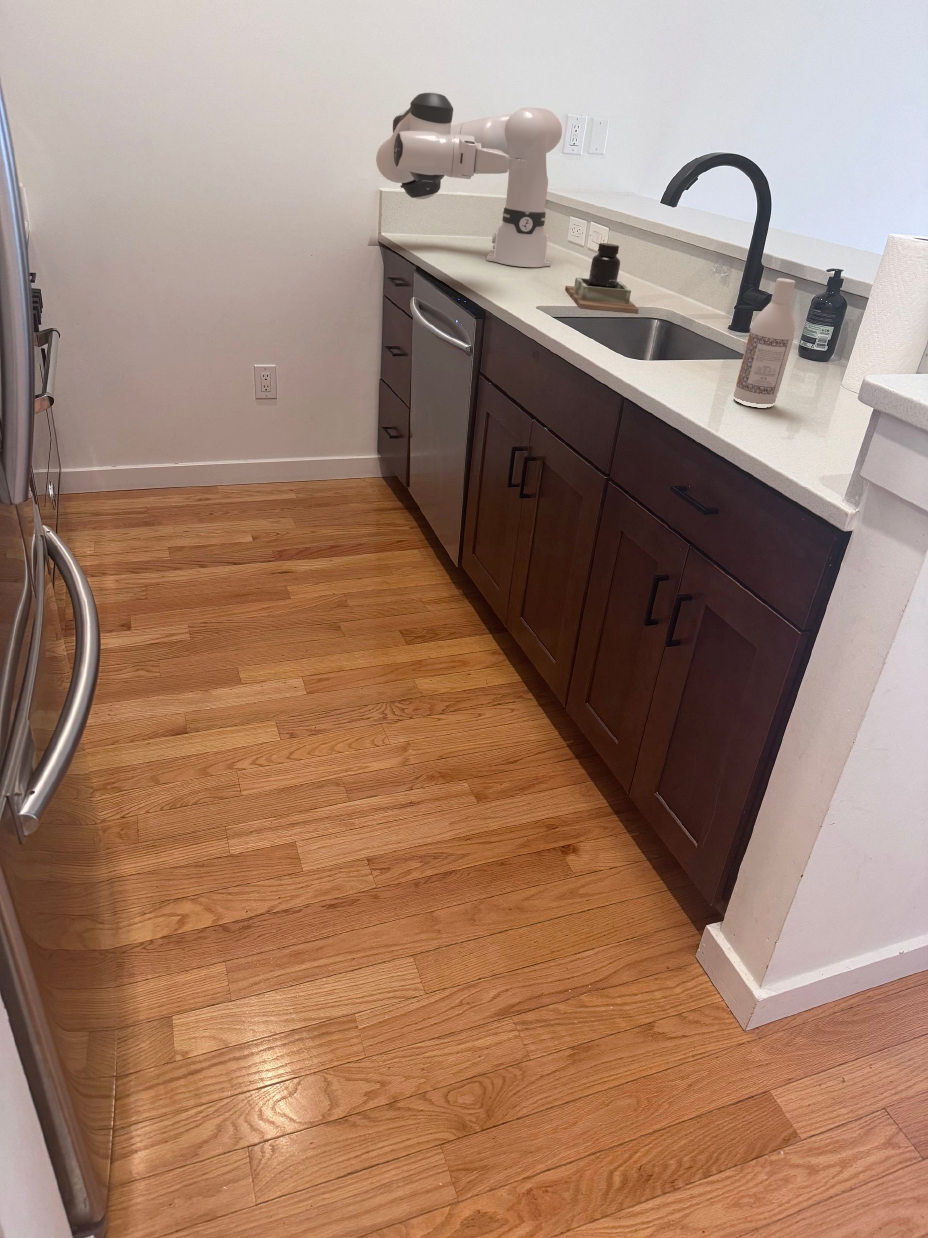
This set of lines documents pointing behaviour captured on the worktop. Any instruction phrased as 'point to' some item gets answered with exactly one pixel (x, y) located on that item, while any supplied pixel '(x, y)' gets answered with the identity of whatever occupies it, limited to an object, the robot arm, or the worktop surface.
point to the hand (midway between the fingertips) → (524, 163)
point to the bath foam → (767, 348)
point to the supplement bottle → (605, 267)
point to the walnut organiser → (601, 297)
